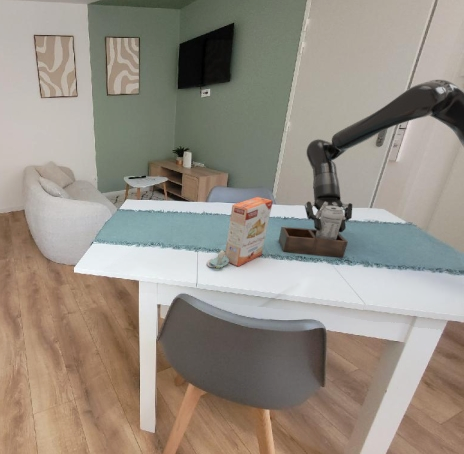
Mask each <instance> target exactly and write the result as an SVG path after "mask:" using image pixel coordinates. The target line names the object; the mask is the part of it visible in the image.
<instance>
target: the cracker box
mask: <svg viewBox="0 0 464 454" xmlns="http://www.w3.org/2000/svg"><path fill="white" fill-rule="evenodd" d="M273 202H274V201H273V200H271V199H268V198H263V197H260V196H256V197H253V198H249V199H247V200H243V201H241V202H237V203H234V204H232V205H231V213H230V219H229V225H228V226H229V227H228V231H227V240H226V245H225V251H224V252H225V255H224V256H225V257H227V258H228V259H229V262H228V264H229V263H230V264H232V265H233V266H236V267H240V266H242V265H244V264H246V263H247V262H250V261H252V260H254V259H257V258H258V257H260V256H262V255H263V250H264V245H265V240H266V235H267V232H268V226H269V222H270V216H271V211H272V207H273Z"/></svg>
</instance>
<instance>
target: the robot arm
mask: <svg viewBox="0 0 464 454" xmlns="http://www.w3.org/2000/svg"><path fill="white" fill-rule="evenodd" d="M426 117H431V118H434V119H435V120H437V121H439V122H440V123H442V124H444V125H446V126H447V127H448V128H450V129H451V130H452V131H453V133H454V135H456V137H457V138H458V141H459V142H460V144H461V145H462V147H463V148H464V91H463V89H461V88H460V87H458V86H457V85H456V84H454V83H453V82H451V81H449V80H445V79H432V80H427V81H425V82H422V83H418V84H416V85H413V86H410V88H408V89H406V90H405V91H404V92H402V93H400V94H399V95H398V96H397V97H395V98H394V99H393V100H391V101H390V102H388V103H387V104H386V105H385V106H383V107H382V108H380V109H378V110H377V111H375V112H373V113H372V114H370V115H368V116H366V117H364V118H362V119H360V120H358V121H356V122H354V123H352V124H350V125H349V126H346V127H344V128H343V129H341V130H339V131H337V132H336V133H335V134H333V136H332V137H331V142H330V141H329V140H325V139H322V138H321V139H319V138H317V139H314V140H312V141H310V142H309V144H308V145H307V147H306V157H307V161H308V162H309V164H310V167H311V169H312V173H313V174H312V176H313V183H312V189H313V199H314V202H311V201H307V202H306V203H305V204H304V209H305V213H306V217H307V219H308V220H312V221H313V226H314V228H313V229H316V230H317V231H319V230H321V219H320V217H321V213H322V210H323V209H325V207H326V206H338V207H341V208H343V213H344V215H343V218H342V222H341V225H340V229H339V233H343V232H344V231H345V230H346V228H347V227H346V222H348V221H349V220H351V219H352V217H353V203H352V202H351V203H350V202H349V203H343V201H342V200H341V188H340V181H339V177H338V171H337V169H338V168H337V164H336V162H334V161H335V160H336V159H338V158H339V157H340V156H341V155H343V154H344V153H345V152H346V151H348V150H349V149H351V148H353V147H356V146H358V145H361V144H362V143H364V142H366V141H369V140H370V139H372V138H373V137H375V136H376V135H378V134H380V133H381V132H383V131H386V130H388V129H390V128H392V127H395V126H398V125H401V124H403V123H406V122H410V121H412V120H413V121H414V120H416V119H422V118H426ZM313 208H315V209H316V210H317V211H316V213H315V214H314V209H313Z"/></svg>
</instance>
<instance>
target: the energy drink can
mask: <svg viewBox="0 0 464 454" xmlns="http://www.w3.org/2000/svg"><path fill="white" fill-rule="evenodd" d="M343 215H344V210H343V208H342V207H338V206H326V207H325V209H323V210H322V213H321V217H320V218H319V219H321V230H319V231H317V232H316V238H317V239H329V240H336V239H337V235H338V232H339V229H340V225H341V222H342V218H343ZM339 233H340V232H339Z"/></svg>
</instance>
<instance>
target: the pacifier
mask: <svg viewBox="0 0 464 454" xmlns="http://www.w3.org/2000/svg"><path fill="white" fill-rule="evenodd" d="M225 252H226V251H225V250H224V249H221V250H220V251H219V252H218V254H217V256H216V257H214V258H211V259H209V260H208V261H207V262H206V266H207V267H210V268H215V267H216V269H221V268H223V267H225V266H226V265H228V264H229V259H228V258H227V257H225ZM220 267H221V268H220Z"/></svg>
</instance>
